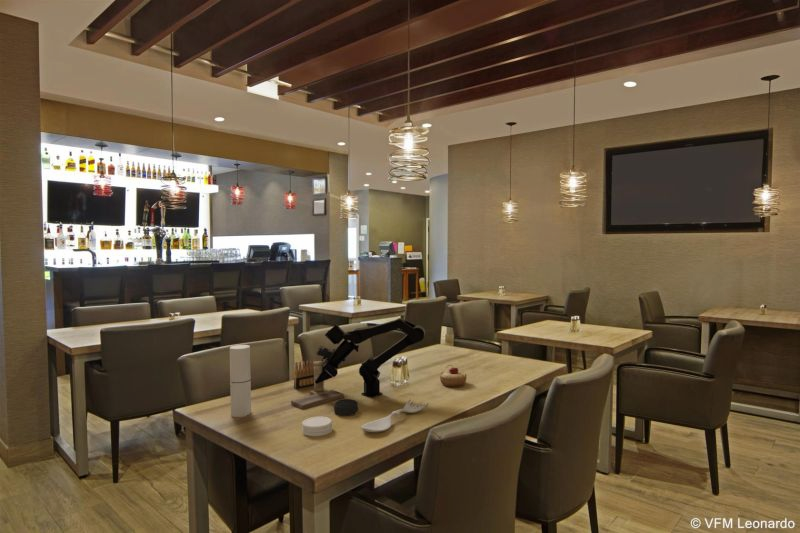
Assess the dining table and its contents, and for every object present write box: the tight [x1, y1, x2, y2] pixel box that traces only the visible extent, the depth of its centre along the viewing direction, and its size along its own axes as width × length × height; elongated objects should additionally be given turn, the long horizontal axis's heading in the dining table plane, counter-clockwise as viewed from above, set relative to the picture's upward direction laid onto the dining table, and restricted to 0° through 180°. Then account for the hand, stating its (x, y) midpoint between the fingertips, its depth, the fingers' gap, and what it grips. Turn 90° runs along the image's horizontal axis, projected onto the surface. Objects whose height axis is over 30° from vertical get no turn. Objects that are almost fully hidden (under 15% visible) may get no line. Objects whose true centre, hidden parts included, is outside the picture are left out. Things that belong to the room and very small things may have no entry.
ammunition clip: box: [293, 358, 316, 390], centre depth 210 cm, size 11×2×12 cm, turn 129°
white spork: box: [360, 398, 429, 433], centre depth 169 cm, size 9×32×4 cm, turn 144°
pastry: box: [439, 364, 467, 388], centre depth 213 cm, size 12×12×9 cm
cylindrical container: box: [229, 344, 252, 418], centre depth 176 cm, size 7×7×25 cm
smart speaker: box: [333, 398, 359, 417], centre depth 177 cm, size 9×9×4 cm
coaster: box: [301, 416, 333, 437], centre depth 160 cm, size 10×10×4 cm
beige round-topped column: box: [309, 360, 329, 396], centre depth 198 cm, size 5×6×14 cm
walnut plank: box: [290, 389, 345, 410], centre depth 190 cm, size 8×20×2 cm, turn 135°
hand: (315, 379), depth 197 cm, fingers open, 9 cm apart
